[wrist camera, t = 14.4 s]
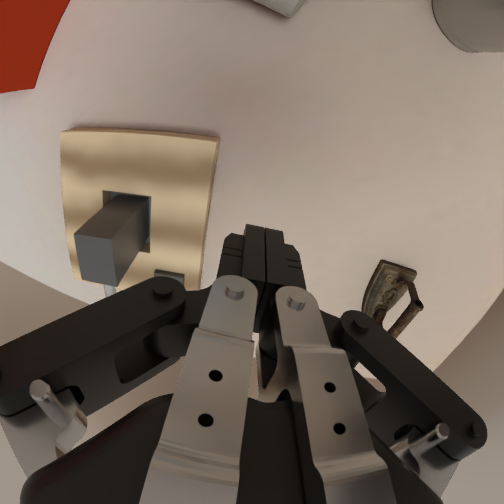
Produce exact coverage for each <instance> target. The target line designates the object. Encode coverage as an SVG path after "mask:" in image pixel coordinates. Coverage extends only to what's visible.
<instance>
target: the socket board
mask: <svg viewBox="0 0 504 504" xmlns="http://www.w3.org/2000/svg"><path fill="white" fill-rule="evenodd" d="M219 142H220V138H216V137H209V136H201V135H194V134H185V133H176V132H166V131H154V130H141V129H123V128H72V129H68V130H65V131H61V184H62V199H63V210H64V220H65V228H66V236H67V243H68V249H69V255H70V261H71V266H72V271H73V276H74V279H77V280H81V281H85V280H82V278H81V273H80V268H79V263H78V258H77V253H76V247H75V241H74V233H75V232H76V231H77V230H78V229H79V228H80V227H81V226H82V225H83V224H84V223H86V222H87V221H88V220H89V219H90V218H91V217H92V216H93V215H94V214H95V213H97V212H98V211H99V210H100V209H101V208H102V207H103V206H105V205H106V204H107V203H108V202H109V201H110V200H112V199H113V198H114V197H115V196H116V195H118V194H119V195H129V196H139V197H149V237H148V239H147V240H146V242H145V243H144V245H143V246H142V248H141V250H140V251H139V253H138V254H137V256H136V257H135V259H134V261H133V262H132V264H131V265H130V267H129V269H128V270H127V272H126V273H125V275H124V277H123V278H122V280H121V282H120V283H119V285H118V287H115V289H119V290H124V289H126V288H129V287H131V286H133V285H136V284H138V283H140V282H142V281H145V280H147V279H149V278H152V277H157V276H165V277H171V278H173V279H176V280H178V281H179V282H181V283H182V284H183V285H184V287H185V289H186V291H194V290H200V284H201V274H202V265H203V256H204V247H205V239H206V231H207V223H208V215H209V208H210V201H211V194H212V187H213V180H214V173H215V167H216V160H217V154H218V148H219ZM85 282H89V281H85ZM89 283H93V284H98V285H102V286H104V284H99V283H94V282H89Z"/></svg>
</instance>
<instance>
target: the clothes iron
mask: <svg viewBox="0 0 504 504" xmlns="http://www.w3.org/2000/svg"><path fill="white" fill-rule="evenodd" d="M416 275H417V272H416V271H415V270H413V269H410V268H407V267H404V266H401V265H398V264H395V263H392V262H389V261H386V260H381V261H380V262H379V264H378V266H377V268H376V269H375V271H374V273H373V275H372V277H371V279H370V281H369V284H368V286H367V288H366V291H365V294H364V298H363V302H362V312H363V313H365V314H367V315H368V316H369V317H371V318H372V319H373V320H374V321H375V322H377V323H378V324H379V325H380V326H381V327H382V328H383V326H382V322H383V319H384V317H385V315H386V312H387V311H388V310H390V309H391V308H392V307H393V306H394V305H395V304H396V303H397V302H398V300H399V299H400V298H401V297H402V296H403V295H404V294H405V292H406V291H407V290H409V294H410V297H411V302H410V304H409V305H408V307H407V308H406V309H405V311H404V312H403V313H402V314H401V316H400V317H399V318H398V319H397V321H396V322H395V323H394V324H393V326H392V327H391V328H390V329H389V330H388V331H387V332H388V333H389V334H390V335H392V336H393V337H394V338H395V339H396V338H397V337H398V336H399V334H400V333H401V332H402V331H403V330H404V329H405V328H406V326H407V325H408V324H409V323H410V322H411V321H412V319H413V318H414V317H415V316H416V315H417V314H418V312H419V311H422V310H423V308H424V306H423V304H422V302H421V301H420V300H419V298H418V294H417V291H416V288H415V285H414V283H413V281H414V279H415V278H416Z"/></svg>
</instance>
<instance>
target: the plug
mask: <svg viewBox="0 0 504 504" xmlns="http://www.w3.org/2000/svg"><path fill="white" fill-rule="evenodd" d="M148 237H149V197H139V196H129V195H119V194H118V195H116V196H115V197H114V198H113V199H112V200H110V201H109V202H108V203H107V204H106V205H105V206H103V207H102V208H101V209H100V210H99V211H98V212H97V213H95V214H94V215H93V216H92V217H91V218H90V219H89V220H88V221H87V222H86V223H84V224H83V225H82V226H81V227H80V228H79V229H78V230H77V231H76V232H75V233H74V241H75V247H76V253H77V258H78V263H79V268H80V273H81V278H82V280H85V281H89V282H94V283H99V284H104V290H105V295H106V297H108V296H111V295H113V294H115V293H116V290H115V287H118V285H119V283H120V282H121V280H122V278H123V277H124V275H125V273H126V272H127V270H128V269H129V267H130V265H131V264H132V262H133V261H134V259H135V257H136V256H137V254H138V253H139V251H140V250H141V248H142V246H143V245H144V243H145V242H146V240H147V239H148Z"/></svg>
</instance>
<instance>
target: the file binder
mask: <svg viewBox="0 0 504 504" xmlns="http://www.w3.org/2000/svg"><path fill="white" fill-rule="evenodd" d="M69 1H70V0H0V93H5V92H11V91H18V90H25V89H33V88H34V87H35V83H36V80H37V77H38V74H39V71H40V68H41V65H42V62H43V59H44V56H45V54H46V51H47V49H48V46H49V44H50V41H51V39H52V36H53V34H54V32H55V29H56V27H57V25H58V23H59V21H60V19H61V17H62V15H63V13H64V11H65V9H66V7H67V5H68V3H69Z"/></svg>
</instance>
